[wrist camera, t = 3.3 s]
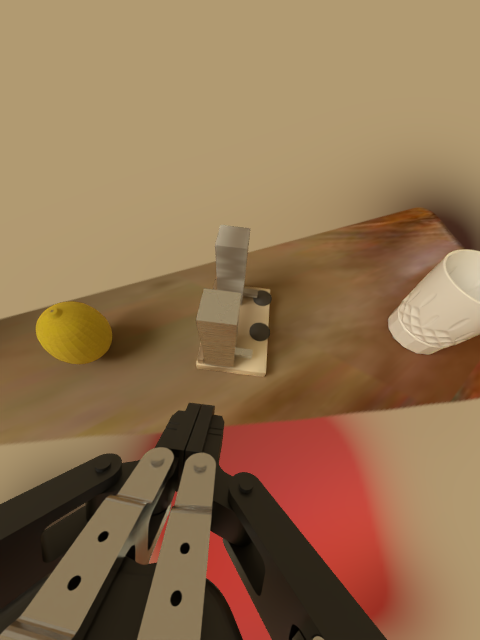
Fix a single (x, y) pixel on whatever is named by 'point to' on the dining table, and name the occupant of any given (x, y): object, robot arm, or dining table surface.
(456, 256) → the white cup
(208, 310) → the block
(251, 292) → the gauge board
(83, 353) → the lemon
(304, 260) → the dining table surface
